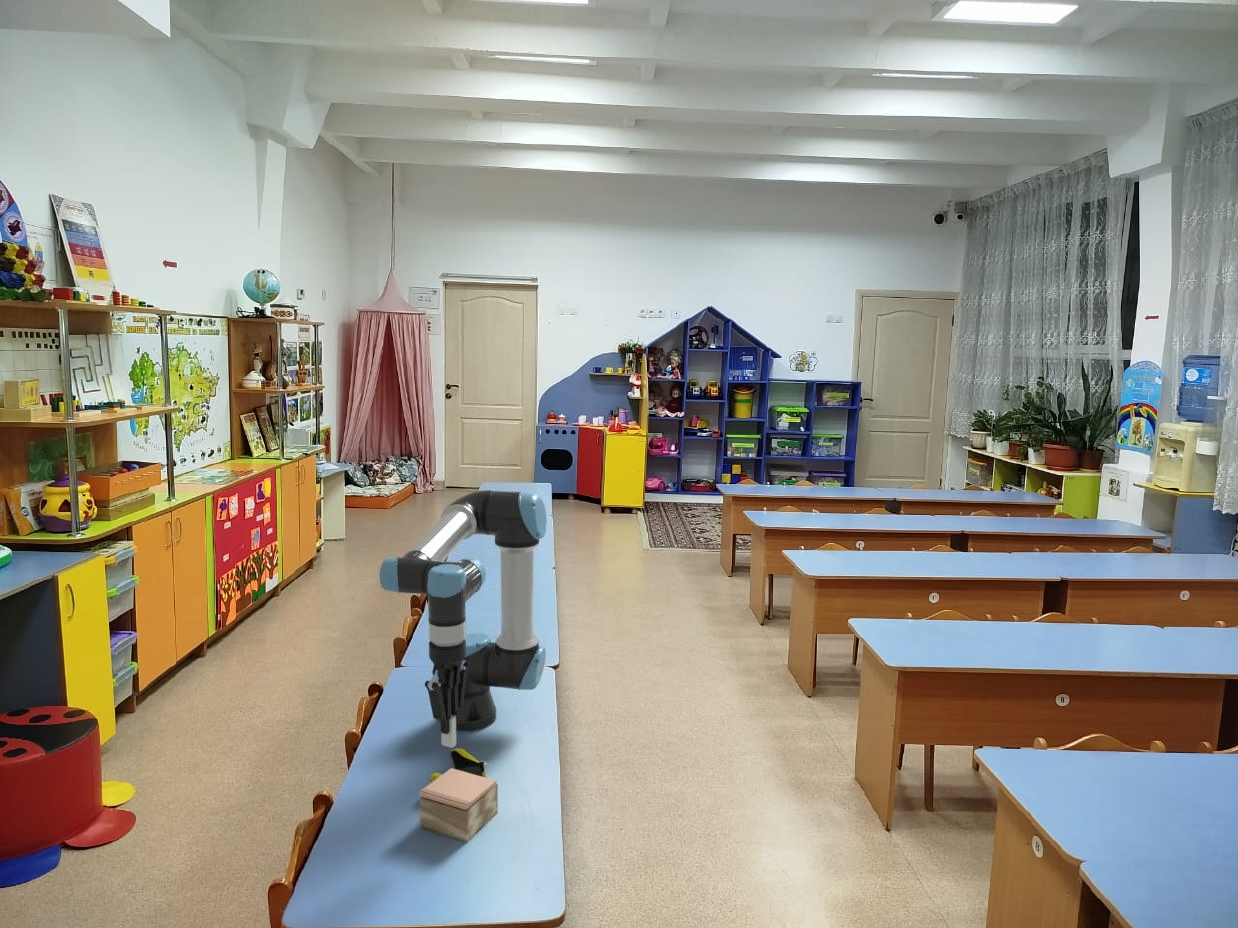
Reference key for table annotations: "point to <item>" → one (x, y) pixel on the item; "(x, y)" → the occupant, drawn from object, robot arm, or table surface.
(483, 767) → the gaming controller
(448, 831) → the box
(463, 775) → the lid
